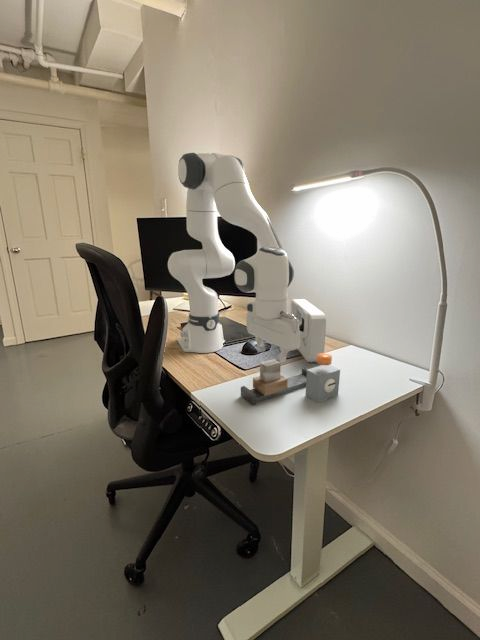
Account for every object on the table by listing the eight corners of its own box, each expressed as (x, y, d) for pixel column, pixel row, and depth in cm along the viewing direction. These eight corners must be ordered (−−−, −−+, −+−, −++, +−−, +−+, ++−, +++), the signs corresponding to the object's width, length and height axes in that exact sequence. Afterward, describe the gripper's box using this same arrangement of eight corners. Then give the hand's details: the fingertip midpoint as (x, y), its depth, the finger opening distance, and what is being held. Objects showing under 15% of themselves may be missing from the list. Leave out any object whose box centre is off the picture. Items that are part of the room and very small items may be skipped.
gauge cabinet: (305, 395, 95) (306, 369, 93) (325, 388, 99) (327, 363, 97) (319, 403, 91) (321, 377, 88) (339, 395, 95) (341, 370, 92)
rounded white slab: (284, 338, 144) (285, 298, 139) (301, 337, 144) (303, 297, 139) (302, 364, 116) (305, 315, 111) (323, 363, 117) (326, 315, 112)
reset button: (313, 361, 93) (314, 355, 92) (323, 358, 95) (324, 352, 94) (324, 366, 90) (324, 359, 89) (334, 363, 92) (334, 356, 91)
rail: (240, 396, 95) (240, 386, 94) (304, 376, 107) (304, 367, 106) (252, 405, 90) (252, 395, 89) (317, 383, 102) (318, 374, 101)
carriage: (252, 387, 96) (253, 362, 94) (274, 380, 100) (275, 356, 98) (264, 395, 92) (265, 369, 89) (287, 388, 96) (288, 363, 93)
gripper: (307, 314, 82) (305, 365, 86) (260, 301, 99) (259, 344, 103) (287, 318, 79) (286, 371, 83) (242, 303, 96) (242, 348, 100)
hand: (271, 356), depth 93 cm, fingers open, 8 cm apart
